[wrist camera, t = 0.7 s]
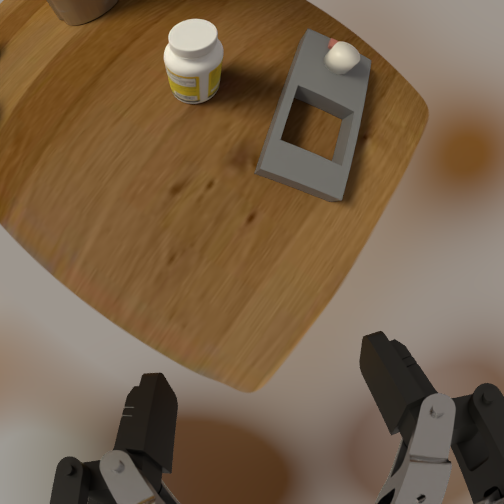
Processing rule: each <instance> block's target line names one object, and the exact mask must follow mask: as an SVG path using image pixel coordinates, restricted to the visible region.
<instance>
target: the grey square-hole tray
mask: <svg viewBox="0 0 504 504" xmlns="http://www.w3.org/2000/svg"><path fill="white" fill-rule="evenodd" d="M370 67H371V60H370V59H368V58H366V57H365V56H363V55H361V54H359V52H358V51H357V50H356V48H355V47H353V46H352V45H351V44H349V43H346V42H339V41H337V40H335V39H333V38H331V39H330V38H328V37H326V36H324V35H322V34H320V33H317V32H315V31H313V30H311V29H307V31H306V32H305V34H304V35H303V37H302V38H301V40H300V42H299V45H298V48H297V51H296V53H295V56H294V59H293V62H292V64H291V67H290V70H289V73H288V76H287V79H286V81H285V84H284V87H283V90H282V93H281V96H280V99H279V101H278V104H277V107H276V110H275V113H274V116H273V119H272V122H271V125H270V128H269V131H268V134H267V137H266V140H265V143H264V146H263V149H262V152H261V155H260V158H259V161H258V164H257V167H256V170H255V173H254V174H257V175H260V176H262V177H265V178H268V179H271V180H274V181H277V182H279V183H282V184H285V185H288V186H290V187H293V188H296V189H298V190H301V191H303V192H306V193H309V194H311V195H314V196H316V197H319V198H321V199H324V200H326V201H329V202H332V201H341V200H342V198H343V194H344V190H345V187H346V183H347V179H348V175H349V171H350V167H351V163H352V158H353V154H354V150H355V146H356V141H357V137H358V132H359V127H360V122H361V117H362V112H363V107H364V102H365V97H366V91H367V85H368V79H369V73H370ZM294 98H296V99H298V100H301V101H303V102H306V103H308V104H310V105H312V106H315V107H317V108H319V109H321V110H323V111H326V112H328V113H330V114H332V115H334V116H336V117H338V118H340V119H342V123H341V127H340V132H339V136H338V140H337V144H336V148H335V152H334V155H333V159H332V161H330V160H328V159H325V158H323V157H321V156H319V155H316V154H314V153H312V152H309V151H307V150H304V149H302V148H300V147H297V146H295V145H292V144H290V143H287V142H284V141H282V140H280V139H281V136H282V133H283V130H284V127H285V124H286V120H287V117H288V114H289V111H290V108H291V105H292V102H293V99H294Z"/></svg>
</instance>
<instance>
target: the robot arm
mask: <svg viewBox="0 0 504 504" xmlns="http://www.w3.org/2000/svg"><path fill="white" fill-rule="evenodd" d="M117 1H118V0H47V2H48V3H49V5H50V6H51V8H52V9H53V11H54V12H55V13H56V15H57V16H58V18H59V19H60V20H64V21H65V22H66V23H67V24H68V25H80V24H84V23H87V22H89V21H92V20H94V19H96V18H98V17H99V16H101V15H103V14H104V13H106V12H107V11H108V10H109V9H111V8H112V7H113V6H114V5H115V4H116V2H117ZM360 369H361V372H362V375H363V377H364V379H365V381H366V383H367V385H368V387H369V390H370V391H371V394H372V396H373V398H374V400H375V402H376V404H377V406H378V408H379V410H380V412H381V414H382V417H383V419H384V421H385V423H386V425H387V427H388V429H389V432H390V434H391V435H393V434H396V433H398V432H400V434H401V436H402V439H401V442H400V445H399V448H398V451H397V454H396V457H395V460H394V463H393V466H392V469H391V471H390V474H389V476H388V479H387V481H386V483H385V484H384V486H383V488H382V490H381V492H380V493H379V496H378V498H377V500H376V502H375V504H442V501H443V498H444V494H445V491H446V488H447V484H448V481H449V477H450V473H451V467H452V466H451V461H449V460H448V454H449V449H450V446H451V448H452V450H453V453H454V455H455V457H456V459H457V462H458V464H459V467H460V469H461V472H462V474H463V476H464V479H465V482H466V484H467V487H468V490H469V492H470V495H471V498H472V501H473V504H504V396H503V395H502V393H501V392H500V391H499V389H498V388H497V387H496V386H495V385H493V384H489V383H484V384H481V385H480V386H478V387H477V388H476V390H475V391H474V393H473V394H471V395H466V396H462V397H457V398H450V397H449V396H447V395H445V394H441V393H438V392H437V391H436V390H435V389H434V387H433V386H432V384H431V383H430V381H429V380H428V378H427V377H426V375H425V374H424V372H423V371H422V369H421V368H420V366H419V365H418V364H417V363H416V361H415V359H414V358H413V357H412V356H411V354H410V352H409V351H408V349H407V348H406V346H405V345H403V344H401V343H400V342H398V341H397V340H395V339H394V340H392V341H389V340H388V338H387V337H386V335H385V334H384V333H383V332H382V331H379V332H375V333H372V334H369V335H366V336H364V337H363V339H362V347H361V354H360ZM177 410H178V403H177V398H176V395H175V393H174V392H173V390H172V388H171V387H170V385H169V383H168V382H167V380H166V378H165V377H164V375H163V374H162V373H147V374H143V375H142V378H141V382H140V385H139V386H135V387H134V388H133V389H132V390H131V392H130V393H129V394H128V396H127V399H126V402H125V408H124V410H123V414H122V415H123V417H122V418H121V421H120V425H119V430H118V433H117V438H116V442H115V446H114V449H113V450H112V451H109V452H107V453H106V454H105V455H104V456H103V457H102V459H101V460H98V461H91V462H84V463H82V462H80V461H79V460H78V459H76V458H74V457H65V458H63V459H62V460H61V461H60V462H59V463H58V465H57V469H56V474H55V479H54V483H53V489H52V494H51V500H50V504H87V503H88V504H180V503H179V502H178V501H177V499H176V498H175V497H174V496H173V494H172V493H171V492H170V490H169V489H168V488H167V486H166V485H165V484H164V482H163V481H162V480H161V478H162V473H172V460H173V448H174V438H175V437H174V436H175V427H176V419H177ZM88 498H89V499H88ZM417 501H419V502H418V503H417Z"/></svg>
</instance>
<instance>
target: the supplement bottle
mask: <svg viewBox="0 0 504 504" xmlns="http://www.w3.org/2000/svg"><path fill="white" fill-rule="evenodd" d="M217 35H218V32H217V29H216V27H215V26H214V25H213V24H212V23H210V22H209V21H206V20H202V19H190V20H186V21H183V22H180V23H179V24H177V25H176V26H174V27H173V28H172V30H171V31H170V33H169V44H168V45H167V47H166V49H165V51H164V62H165V66H166V70H167V74H168V79H169V83H170V87H171V90H172V92H173V94H174V96H175V97H176V98H177V99H179V100H180V101H182V102H185V103H189V104H197V103H202V102H205V101H207V100H209V99H210V98H211V97H213V96H214V95H215V93H216V92H217V90H218V88H219V83H220V75H221V68H222V61H223V46H222V44H221V42H220V41H219V39H218V38H217Z"/></svg>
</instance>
